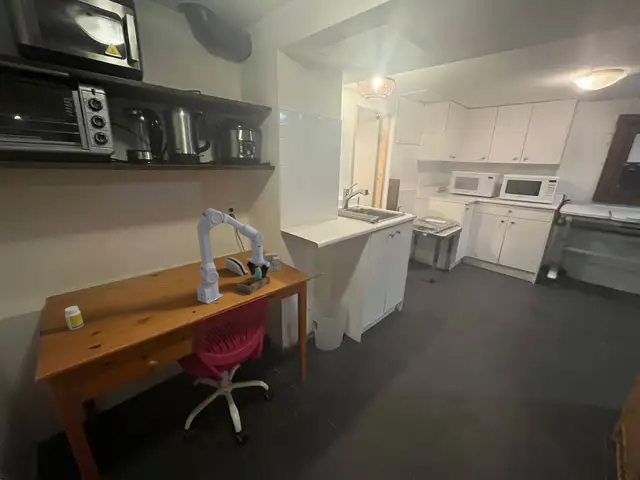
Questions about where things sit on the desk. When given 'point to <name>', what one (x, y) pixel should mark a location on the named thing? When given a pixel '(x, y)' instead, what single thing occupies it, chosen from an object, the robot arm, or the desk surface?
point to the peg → (258, 273)
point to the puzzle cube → (272, 261)
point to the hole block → (252, 284)
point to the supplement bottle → (73, 317)
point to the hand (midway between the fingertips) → (258, 276)
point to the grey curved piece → (235, 266)
